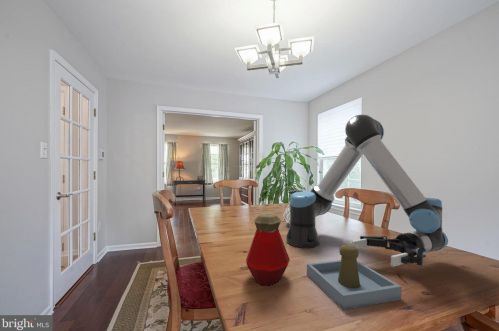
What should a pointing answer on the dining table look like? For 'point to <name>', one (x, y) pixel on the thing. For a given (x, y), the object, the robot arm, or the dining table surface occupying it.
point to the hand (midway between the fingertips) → (370, 252)
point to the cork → (349, 267)
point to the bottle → (267, 251)
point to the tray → (368, 293)
